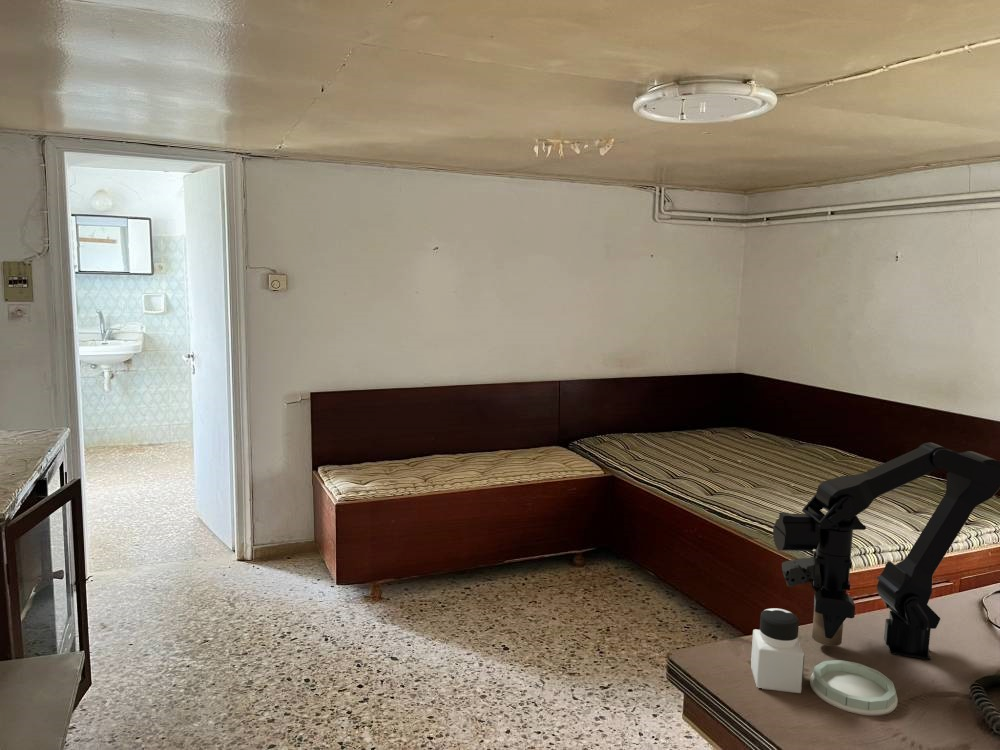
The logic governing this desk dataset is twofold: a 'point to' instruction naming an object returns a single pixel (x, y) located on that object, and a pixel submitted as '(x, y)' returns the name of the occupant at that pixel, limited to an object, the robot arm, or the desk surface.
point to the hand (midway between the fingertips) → (827, 631)
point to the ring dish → (854, 687)
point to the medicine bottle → (777, 652)
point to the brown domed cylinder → (819, 632)
